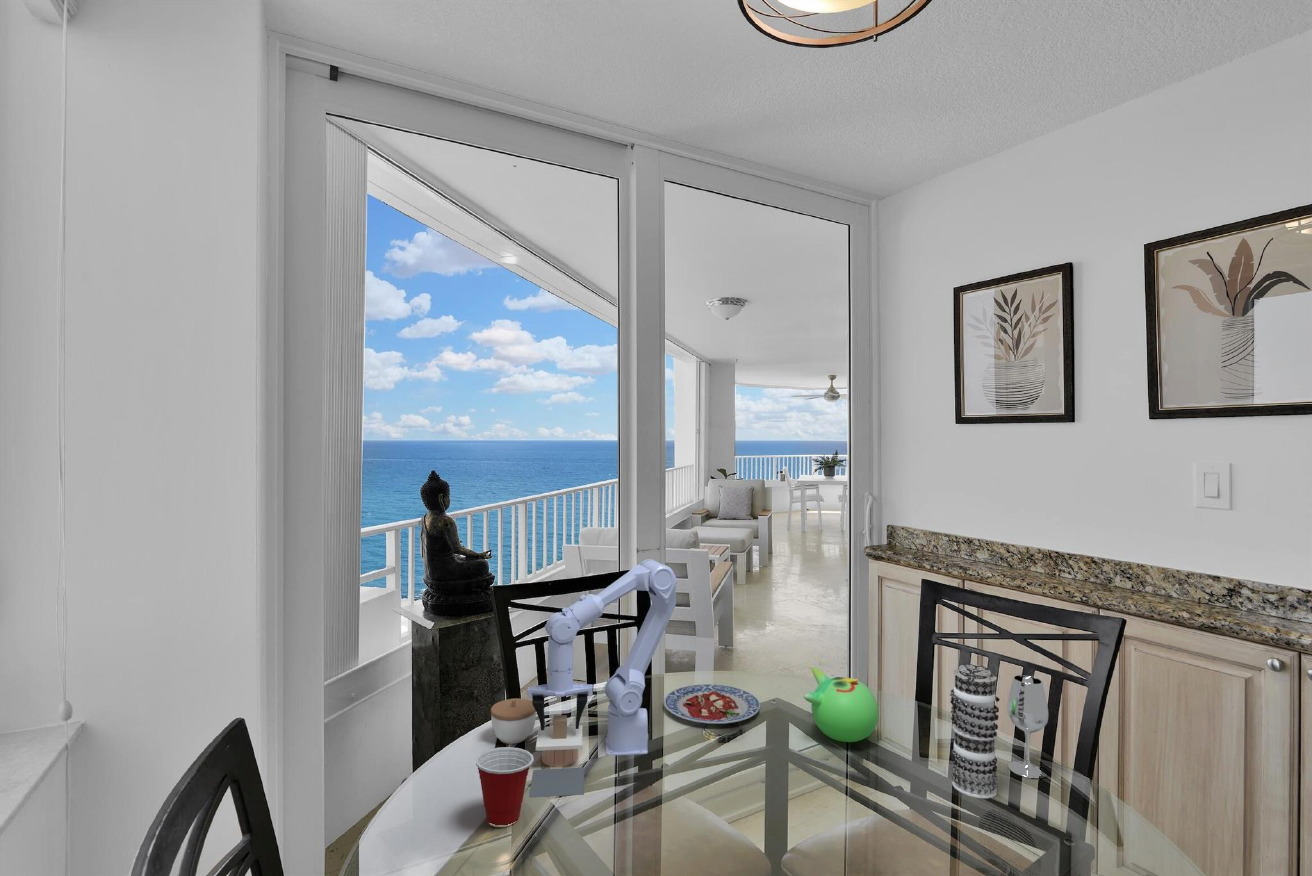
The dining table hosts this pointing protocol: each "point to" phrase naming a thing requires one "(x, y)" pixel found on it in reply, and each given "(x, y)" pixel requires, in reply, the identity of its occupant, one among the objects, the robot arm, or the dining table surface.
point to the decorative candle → (974, 731)
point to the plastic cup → (503, 782)
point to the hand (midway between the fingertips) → (560, 727)
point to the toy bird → (843, 707)
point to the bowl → (559, 757)
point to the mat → (557, 782)
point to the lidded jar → (513, 720)
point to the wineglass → (1027, 717)
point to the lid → (559, 736)
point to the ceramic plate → (711, 703)
